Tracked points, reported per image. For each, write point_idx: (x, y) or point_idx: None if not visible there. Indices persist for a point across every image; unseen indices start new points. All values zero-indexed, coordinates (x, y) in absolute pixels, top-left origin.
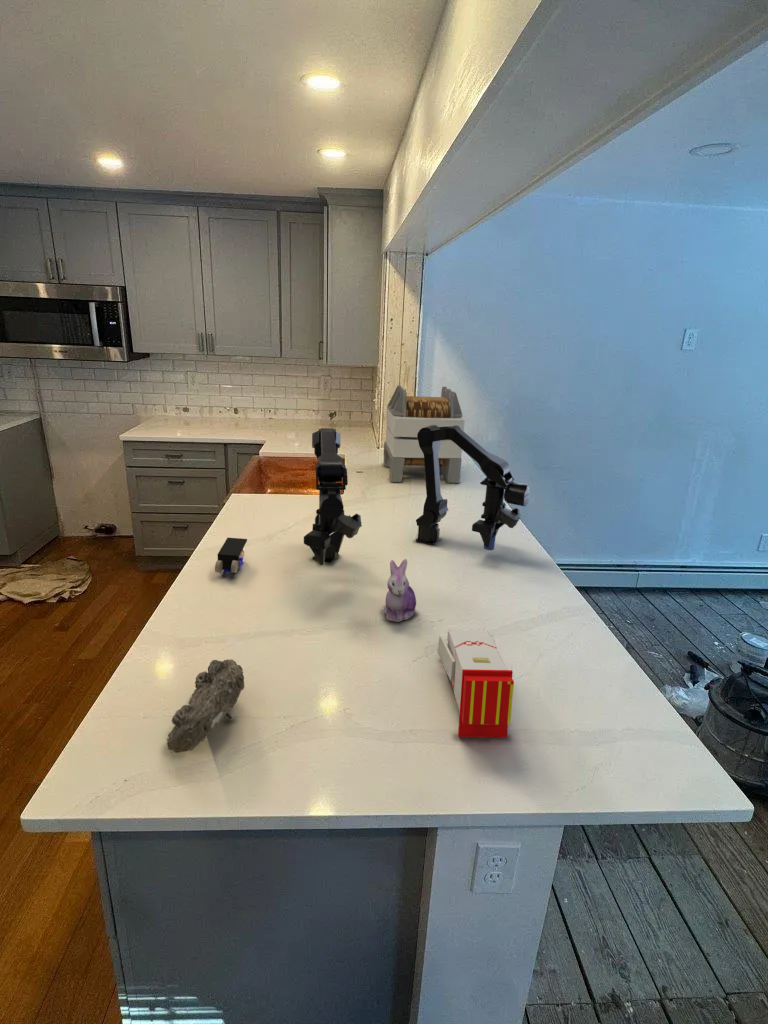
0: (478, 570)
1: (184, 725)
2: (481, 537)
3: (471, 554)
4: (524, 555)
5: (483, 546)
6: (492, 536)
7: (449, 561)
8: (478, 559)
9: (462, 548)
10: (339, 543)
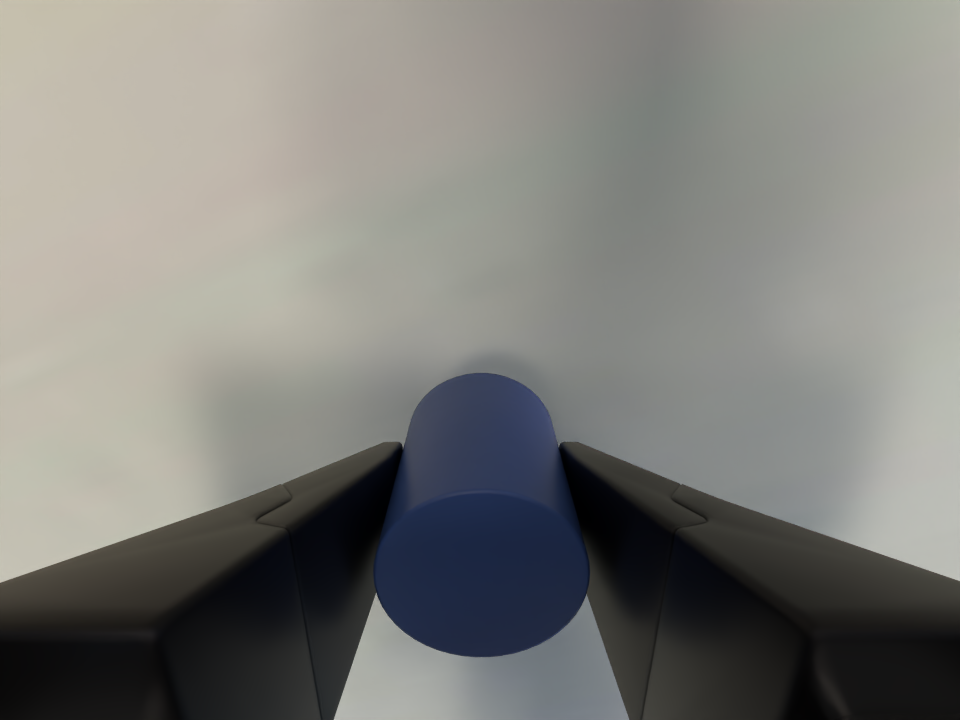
0: (97, 433)
1: None
2: (280, 484)
3: (414, 213)
4: None
5: (440, 391)
6: (456, 625)
7: (7, 54)
8: (338, 337)
9: (528, 12)
10: None
